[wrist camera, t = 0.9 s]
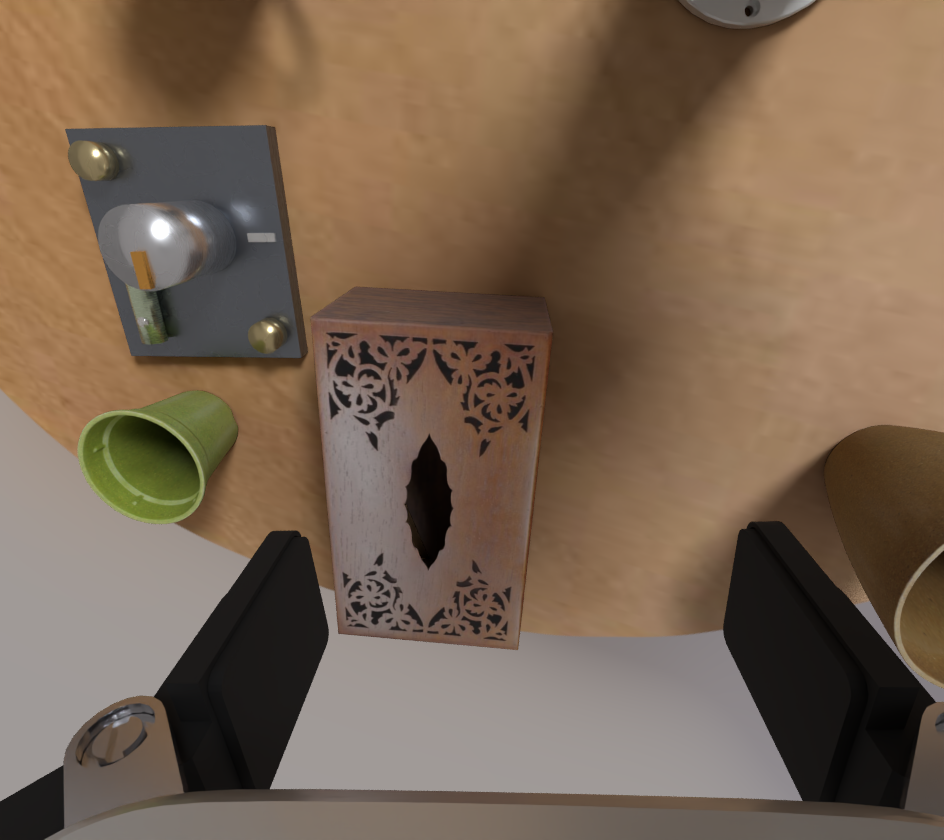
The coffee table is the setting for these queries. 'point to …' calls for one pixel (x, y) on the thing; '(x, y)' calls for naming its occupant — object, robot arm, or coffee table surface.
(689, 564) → the coffee table surface
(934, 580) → the plant pot
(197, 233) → the silver cylinder
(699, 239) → the coffee table surface
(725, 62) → the coffee table surface
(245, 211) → the base
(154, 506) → the plant pot
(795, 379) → the coffee table surface
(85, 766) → the robot arm
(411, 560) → the tissue box cover
